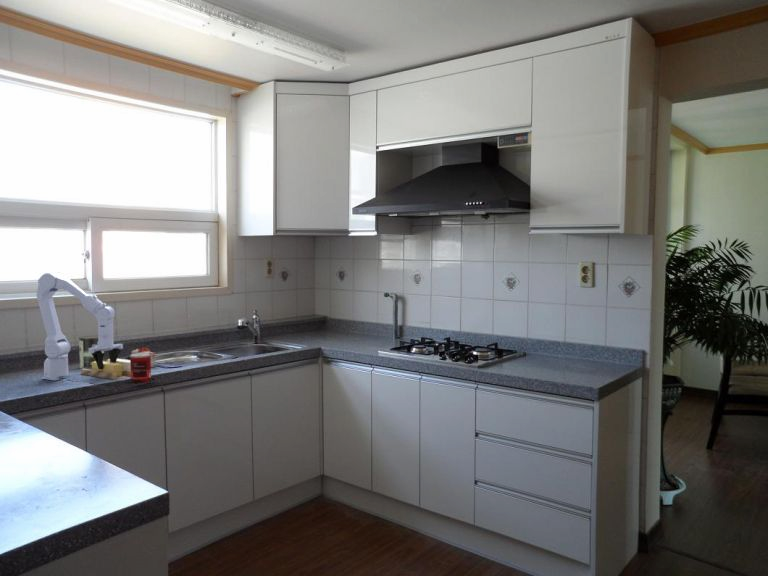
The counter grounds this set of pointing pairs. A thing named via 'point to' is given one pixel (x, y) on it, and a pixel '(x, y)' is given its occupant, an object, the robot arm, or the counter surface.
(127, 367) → the white bar
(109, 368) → the pale yellow bar
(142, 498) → the counter surface
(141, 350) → the food item
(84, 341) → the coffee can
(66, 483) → the counter surface
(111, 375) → the slot board
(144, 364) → the canned food
